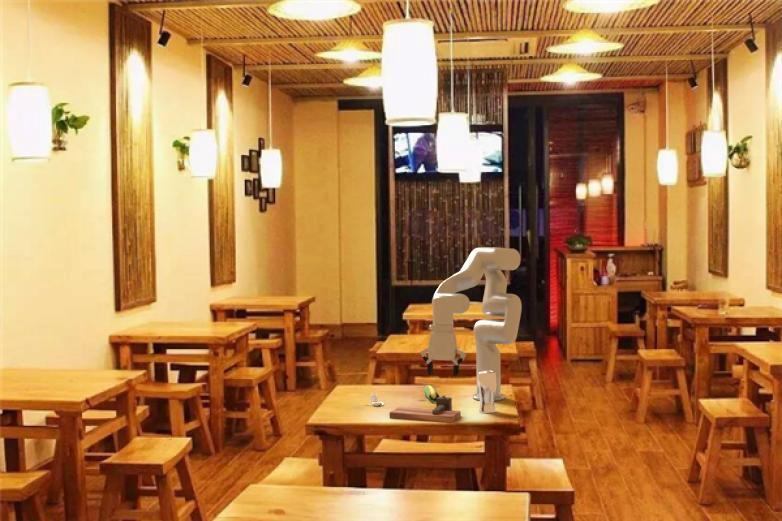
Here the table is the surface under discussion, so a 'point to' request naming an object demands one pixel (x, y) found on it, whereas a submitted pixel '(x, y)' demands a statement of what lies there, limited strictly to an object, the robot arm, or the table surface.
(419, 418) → the board
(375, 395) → the teacup and saucer
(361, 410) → the table surface
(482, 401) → the beer glass
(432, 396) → the edible corn
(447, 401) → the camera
